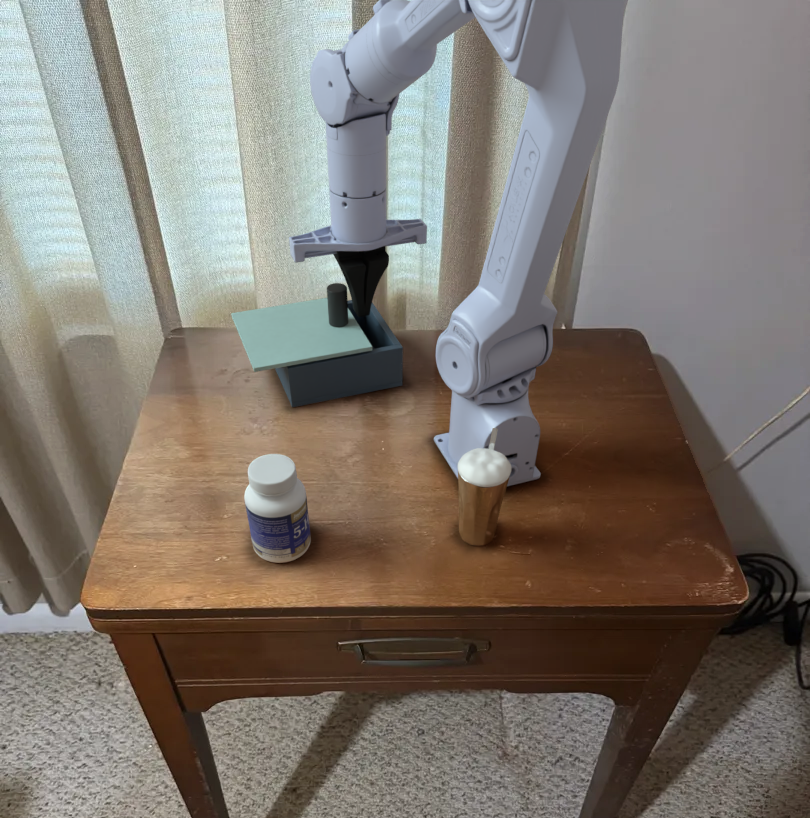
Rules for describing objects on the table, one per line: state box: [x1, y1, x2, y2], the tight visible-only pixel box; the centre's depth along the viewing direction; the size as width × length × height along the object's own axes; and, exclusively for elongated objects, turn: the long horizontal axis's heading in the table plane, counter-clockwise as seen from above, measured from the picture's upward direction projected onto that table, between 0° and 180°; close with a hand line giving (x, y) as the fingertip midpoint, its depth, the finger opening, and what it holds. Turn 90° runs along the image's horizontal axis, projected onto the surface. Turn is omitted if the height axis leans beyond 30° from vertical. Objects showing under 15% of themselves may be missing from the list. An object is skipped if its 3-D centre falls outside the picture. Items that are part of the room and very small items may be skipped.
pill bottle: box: [243, 453, 312, 564], centre depth 66 cm, size 5×5×9 cm
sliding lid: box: [230, 282, 372, 373], centre depth 83 cm, size 12×13×5 cm
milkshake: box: [457, 428, 511, 547], centre depth 67 cm, size 4×5×10 cm
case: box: [274, 299, 404, 408], centre depth 87 cm, size 12×13×5 cm
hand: (361, 312), depth 85 cm, fingers closed
